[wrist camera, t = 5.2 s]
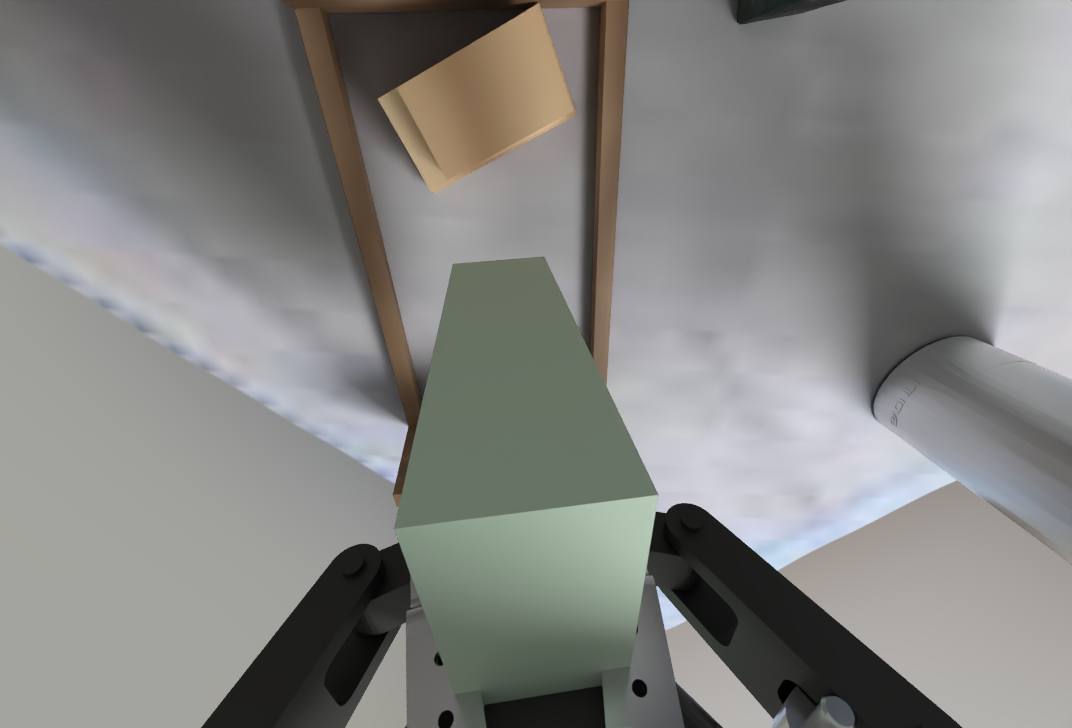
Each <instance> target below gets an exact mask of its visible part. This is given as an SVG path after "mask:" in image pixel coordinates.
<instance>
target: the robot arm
mask: <svg viewBox="0 0 1072 728" xmlns="http://www.w3.org/2000/svg"><path fill="white" fill-rule="evenodd" d="M873 409H874V415H875V417H876V419H877V420H878V422H880V423H881V424H882V425H884V426H885V427H886V428H888V429H889V430H890V431H892V432H893V433H894V434H896V435H897V436H899V437H900V438H901V439H903V440H904V441H905V442H907V443H908V444H909V445H911V446H912V447H913V448H915V449H916V450H917V451H919V452H920V453H921V454H922V455H924V456H925V457H926V458H928V459H929V460H930V461H932V462H933V463H935V464H936V465H937V466H939V467H940V468H941V469H943V470H944V471H945V472H947V473H948V474H949V475H951V476H952V477H953V478H955V479H956V480H958V481H959V482H960V483H962V484H963V485H964V486H966V487H967V488H968V489H970V490H971V491H973V492H974V493H975V494H977V495H978V496H979V497H981V498H982V499H983V500H985V501H986V502H987V503H989V504H990V505H992V506H993V507H994V508H996V509H997V510H998V511H1000V512H1001V513H1002V514H1004V515H1005V516H1006V517H1008V518H1009V519H1010V520H1012V521H1013V522H1015V523H1016V524H1017V525H1019V526H1020V527H1021V528H1023V529H1024V530H1025V531H1027V532H1028V533H1030V534H1031V535H1032V536H1034V537H1035V538H1036V539H1038V540H1039V541H1040V542H1042V543H1043V544H1045V545H1046V546H1047V547H1048V548H1050V549H1051V550H1052V551H1054V552H1055V553H1057V554H1058V555H1059V556H1061V557H1062V558H1063V559H1065V560H1066V561H1067V562H1069V563H1070V564H1072V380H1071V379H1069V378H1067V377H1064V376H1062V375H1060V374H1057V373H1055V372H1053V371H1050V370H1048V369H1045V368H1043V367H1041V366H1038V365H1036V364H1034V363H1032V362H1030V361H1027V360H1025V359H1022V358H1020V357H1018V356H1015V355H1013V354H1011V353H1008V352H1006V351H1003V350H1001V349H999V348H996V347H994V346H992V345H989V344H987V343H985V342H982V341H980V340H977V339H975V338H973V337H967V336H957V337H950V338H946V339H943V340H939V341H937V342H934V343H932V344H930V345H927V346H925V347H924V348H922V349H920V350H919V351H917V352H915V353H914V354H912V355H911V356H910V357H908V358H907V359H906V360H904V361H903V362H902V363H901V364H900V365H899V366H898V367H896V368H895V369H894V370H893V371H892V372H891V374H890V375H889V376H888V377H887V378H886V380H885V381H884V382H883V384H882V386H881V387H880V389H879V391H878V393H877V395H876V398H875V401H874V408H873ZM656 586H658V587H659V588H660V590H661V591H662V592H663V593H664V594H665V596H666V597H667V598H668V599H669V600H670V601H671V602H672V604H673V605H674V606H675V607H676V608H677V609H678V610H679V612H680V613H681V614H682V615H683V616H684V617H685V618H686V620H687V621H688V622H689V623H690V624H691V625H692V626H693V628H694V629H695V630H696V631H697V632H698V633H699V634H700V636H701V637H702V638H703V639H704V640H705V641H706V642H707V643H708V645H709V646H710V647H711V648H712V649H713V650H714V652H715V653H716V654H717V655H718V656H719V657H720V658H721V660H722V661H723V662H724V663H725V664H726V665H727V666H728V667H729V669H730V670H731V671H732V672H733V673H734V674H735V676H736V677H737V678H738V679H739V680H740V681H741V682H742V684H743V685H744V686H745V687H746V688H747V689H748V690H749V692H750V693H751V694H752V695H753V696H754V697H755V698H756V700H757V701H758V702H759V703H760V704H761V705H762V707H763V708H764V709H765V710H766V711H767V712H768V713H769V714H770V716H771V717H772V718H773V719H774V720H773V728H962V727H961V726H960V725H959V724H958V723H957V722H955V721H954V720H953V719H952V718H951V717H950V716H949V715H947V714H946V713H945V712H944V711H943V710H941V709H940V708H939V707H938V706H936V704H934V703H933V702H932V701H931V700H929V699H928V698H927V697H926V696H925V695H924V694H922V693H921V692H920V691H919V690H918V689H917V688H915V687H914V686H913V685H912V684H911V683H909V682H908V681H907V680H906V679H905V678H904V677H902V676H901V675H900V674H899V673H898V672H896V671H895V670H894V669H893V668H892V667H890V666H889V665H888V664H887V663H886V662H885V661H883V660H882V659H881V658H880V657H879V656H877V655H876V654H875V653H874V652H873V651H872V650H870V649H869V648H868V647H867V646H866V645H864V644H863V643H862V642H861V641H860V640H858V639H857V638H856V637H855V636H854V635H853V634H851V633H850V632H849V631H848V630H847V629H846V628H844V627H843V626H842V625H841V624H840V623H838V622H837V621H836V620H835V619H834V618H832V617H831V616H830V615H829V614H828V613H826V612H825V611H824V610H823V609H822V608H821V607H819V606H818V605H817V604H816V603H815V602H813V601H812V600H811V599H810V598H809V597H808V596H806V595H805V594H804V593H803V592H802V591H801V590H799V589H798V588H797V587H796V586H794V585H793V584H792V583H791V582H790V581H789V580H787V579H786V578H785V577H784V576H783V575H782V574H780V573H779V572H778V571H777V570H776V569H774V568H773V567H772V566H771V565H770V564H769V563H767V562H766V561H765V560H764V559H763V558H761V557H760V556H759V555H758V554H757V553H756V552H754V551H753V550H752V549H751V548H750V547H748V546H747V545H746V544H745V543H744V542H743V541H741V540H740V539H739V538H738V537H737V536H735V535H734V534H733V533H732V532H731V531H729V530H728V529H727V528H726V527H725V526H724V525H722V524H721V523H720V522H719V521H718V520H716V519H715V518H714V517H713V516H712V515H711V514H709V513H708V512H707V511H706V510H704V509H702V508H701V507H699V506H696V505H693V504H688V503H681V504H676V505H674V506H672V507H671V508H670V509H669V510H668V511H667V513H661V512H656V513H655V519H654V525H653V531H652V537H651V543H650V549H649V556H648V562H647V568H646V574H645V580H644V586H643V592H642V598H641V605H640V611H639V617H638V623H637V629H636V635H635V641H634V647H633V653H632V660H631V666H627V667H621V668H614V669H608V670H602V672H601V686H597V687H590V688H584V689H578V690H572V691H566V692H560V693H554V694H548V695H542V696H535V697H529V698H523V699H517V700H511V701H505V702H499V703H493V704H486V705H485V703H484V699H483V696H482V692H481V690H477V691H471V692H465V693H459V694H454V693H453V690H452V687H451V684H450V682H449V679H448V676H447V673H446V671H445V668H444V665H443V662H442V660H441V657H440V654H439V651H438V649H437V646H436V643H435V640H434V638H433V635H432V632H431V629H430V627H429V624H428V621H427V618H426V616H425V613H424V610H423V607H422V605H421V602H420V599H419V596H418V594H417V591H416V588H415V585H414V583H413V580H412V577H411V574H410V572H409V569H408V566H407V563H406V560H405V558H404V555H403V552H402V549H401V547H400V544H399V543H397V544H395V545H392V546H390V547H387V548H385V549H383V550H380V551H379V550H378V549H377V548H376V547H375V546H373V545H370V544H358V545H355V546H352V547H350V548H348V549H346V550H344V551H343V552H341V553H340V554H339V555H338V556H337V557H336V558H335V559H334V560H333V561H332V562H331V564H330V565H329V566H328V568H327V569H326V570H325V571H324V573H323V574H322V575H321V576H320V578H319V579H318V580H317V582H316V583H315V584H314V585H313V587H312V588H311V589H310V590H309V592H308V593H307V594H306V596H305V597H304V598H303V599H302V600H301V602H300V603H299V604H298V606H297V607H296V608H295V609H294V611H293V612H292V613H291V615H290V616H289V617H288V618H287V620H286V621H285V622H284V623H283V625H282V626H281V627H280V628H279V630H278V631H277V632H276V633H275V635H274V636H273V637H272V639H271V640H270V641H269V642H268V644H267V645H266V646H265V647H264V649H263V650H262V651H261V653H260V654H259V655H258V656H257V658H256V659H255V660H254V661H253V663H252V664H251V665H250V666H249V668H248V669H247V670H246V672H245V673H244V674H243V675H242V677H241V678H240V679H239V681H238V682H237V683H236V684H235V686H234V687H233V688H232V689H231V691H230V692H229V693H228V694H227V696H226V697H225V698H224V699H223V701H222V702H221V703H220V705H219V706H218V707H217V708H216V710H215V711H214V712H213V713H212V715H211V716H210V717H209V718H208V720H207V721H206V722H205V724H204V725H203V726H202V727H201V728H345V726H346V725H347V723H348V721H349V719H350V717H351V716H352V714H353V712H354V710H355V709H356V707H357V705H358V703H359V701H360V699H361V698H362V696H363V694H364V692H365V690H366V689H367V687H368V685H369V683H370V681H371V680H372V678H373V676H374V674H375V672H376V670H377V669H378V667H379V665H380V663H381V661H382V660H383V658H384V656H385V654H386V652H387V651H388V649H389V647H390V645H391V643H392V641H393V640H394V638H395V636H396V634H397V633H398V631H399V629H400V627H401V625H402V624H403V623H405V622H406V675H407V676H406V679H407V681H406V683H407V684H406V686H407V725H406V727H405V728H722V726H720V725H719V724H718V723H717V722H716V721H715V720H714V719H713V718H712V717H711V716H710V715H709V714H708V713H707V712H706V711H705V710H704V709H703V708H702V707H701V706H700V705H699V704H698V703H697V702H696V701H695V700H694V699H693V698H692V697H690V696H689V695H688V694H687V693H686V692H685V691H684V690H683V689H682V688H681V687H680V686H679V685H678V684H677V683H676V682H675V678H674V673H673V668H672V663H671V658H670V654H669V649H668V644H667V639H666V634H665V629H664V624H663V619H662V614H661V609H660V604H659V599H658V595H657V590H656Z"/></svg>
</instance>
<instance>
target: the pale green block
mask: <svg viewBox="0 0 1072 728" xmlns="http://www.w3.org/2000/svg"><path fill="white" fill-rule="evenodd" d="M657 500H658V493H657V491H656V489H655V487H654V485H653V483H652V481H651V478H650V476H649V474H648V472H647V470H646V468H645V466H644V464H643V462H642V460H641V458H640V456H639V453H638V451H637V449H636V447H635V445H634V443H633V441H632V439H631V437H630V435H629V433H628V431H627V428H626V426H625V424H624V422H623V420H622V418H621V416H620V414H619V412H618V410H617V408H616V406H615V403H614V401H613V399H612V397H611V395H610V393H609V391H608V389H607V387H606V385H605V383H604V381H603V378H602V376H601V374H600V372H599V370H598V368H597V366H596V364H595V362H594V360H593V358H592V356H591V353H590V351H589V349H588V347H587V345H586V343H585V341H584V339H583V337H582V335H581V333H580V331H579V328H578V326H577V324H576V322H575V320H574V318H573V316H572V314H571V312H570V310H569V308H568V306H567V303H566V301H565V299H564V297H563V295H562V293H561V291H560V289H559V287H558V285H557V283H556V281H555V278H554V276H553V274H552V272H551V270H550V268H549V266H548V264H547V262H546V260H545V258H544V257H534V258H521V259H509V260H496V261H484V262H472V263H459V264H453V266H452V270H451V275H450V279H449V284H448V288H447V293H446V297H445V302H444V306H443V311H442V315H441V320H440V324H439V329H438V333H437V338H436V342H435V347H434V351H433V356H432V360H431V365H430V369H429V374H428V378H427V383H426V387H425V392H424V396H423V401H422V405H421V410H420V414H419V419H418V423H417V428H416V432H415V437H414V441H413V446H412V450H411V455H410V459H409V464H408V468H407V473H406V477H405V482H404V486H403V491H402V495H401V500H400V504H399V509H398V513H397V518H396V522H395V527H394V530H395V533H396V536H397V538H398V541H399V544H400V547H401V549H402V552H403V555H404V558H405V560H406V563H407V566H408V569H409V572H410V574H411V577H412V580H413V583H414V585H415V588H416V591H417V594H418V596H419V599H420V602H421V605H422V607H423V610H424V613H425V616H426V618H427V621H428V624H429V627H430V629H431V632H432V635H433V638H434V640H435V643H436V646H437V649H438V651H439V654H440V657H441V660H442V662H443V665H444V668H445V671H446V673H447V676H448V679H449V682H450V684H451V687H452V690H453V693H454V694H459V693H465V692H471V691H477V690H481V692H482V696H483V699H484V703H485V705H486V704H493V703H499V702H505V701H511V700H517V699H523V698H529V697H535V696H542V695H548V694H554V693H560V692H566V691H572V690H578V689H584V688H590V687H597V686H601V672H602V670H608V669H614V668H621V667H627V666H631V660H632V653H633V647H634V641H635V635H636V629H637V623H638V617H639V611H640V605H641V598H642V592H643V586H644V580H645V574H646V568H647V562H648V556H649V549H650V543H651V537H652V531H653V525H654V519H655V513H656V507H657Z"/></svg>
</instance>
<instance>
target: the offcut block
mask: <svg viewBox="0 0 1072 728" xmlns="http://www.w3.org/2000/svg"><path fill="white" fill-rule="evenodd" d="M378 100H379V102H380V104H381V106H382V107H383V109H384V111H385V113H386V114H387V116H388V118H389V120H390V121H391V123H392V125H393V127H394V128H395V130H396V132H397V134H398V135H399V137H400V139H401V141H402V142H403V144H404V146H405V147H406V149H407V151H408V153H409V154H410V156H411V158H412V160H413V161H414V163H415V165H416V167H417V168H418V170H419V172H420V174H421V175H422V177H423V179H424V181H425V182H426V184H427V186H428V188H429V189H430V191H431V192H432V193H435V192H436V191H438V190H440V189H442V188H444V187H446V186H447V185H449V184H451V183H453V182H455V181H456V180H458V179H460V178H462V177H464V176H466V175H467V174H469V173H471V172H473V171H475V170H477V169H478V168H480V167H482V166H484V165H486V164H488V163H489V162H491V161H493V160H495V159H497V158H499V157H500V156H502V155H504V154H506V153H508V152H509V151H511V150H513V149H515V148H517V147H519V146H520V145H522V144H524V143H526V142H528V141H530V140H531V139H533V138H535V137H537V136H539V135H541V134H542V133H544V132H546V131H548V130H550V129H552V128H553V127H555V126H557V125H559V124H561V123H562V122H564V121H566V120H568V119H570V118H572V117H573V116H575V115H577V112H576V109H575V106H574V104H573V101H572V98H571V95H570V92H569V89H568V86H567V83H566V80H565V77H564V74H563V71H562V68H561V66H560V63H559V60H558V57H557V54H556V51H555V48H554V45H553V42H552V39H551V36H550V33H549V31H548V28H547V25H546V22H545V19H544V16H543V13H542V10H541V7H540V4H539V3H538V4H536V5H535V6H533V7H531V8H529V9H528V10H526V11H524V12H523V13H521V14H519V15H518V16H516V17H514V18H513V19H511V20H509V21H508V22H506V23H504V24H502V25H501V26H499V27H497V28H496V29H494V30H492V31H491V32H489V33H487V34H486V35H484V36H482V37H481V38H479V39H477V40H476V41H474V42H472V43H470V44H469V45H467V46H465V47H464V48H462V49H460V50H459V51H457V52H455V53H454V54H452V55H450V56H449V57H447V58H445V59H443V60H442V61H440V62H438V63H437V64H435V65H433V66H432V67H430V68H428V69H427V70H425V71H423V72H422V73H420V74H418V75H416V76H415V77H413V78H411V79H410V80H408V81H406V82H405V83H403V84H401V85H400V86H398V87H396V88H395V89H393V90H391V91H390V92H388V93H386V94H384V95H383V96H381V97H379V98H378Z"/></svg>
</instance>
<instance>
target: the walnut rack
mask: <svg viewBox="0 0 1072 728" xmlns="http://www.w3.org/2000/svg"><path fill="white" fill-rule="evenodd" d="M282 1H283V2H285V3H286V4H288V5H289V6H291V7H293V8H294V9H295V13H296V17H297V20H298V24H299V28H300V31H301V35H302V39H303V42H304V46H305V50H306V53H307V57H308V61H309V64H310V68H311V72H312V75H313V79H314V82H315V86H316V90H317V93H318V97H319V101H320V104H321V108H322V112H323V115H324V119H325V123H326V126H327V130H328V134H329V137H330V141H331V145H332V148H333V152H334V156H335V159H336V163H337V167H338V170H339V174H340V177H341V181H342V185H343V188H344V192H345V196H346V199H347V203H348V207H349V210H350V214H351V218H352V221H353V225H354V229H355V232H356V236H357V240H358V243H359V247H360V251H361V254H362V258H363V261H364V265H365V269H366V272H367V276H368V280H369V283H370V287H371V291H372V294H373V298H374V302H375V305H376V309H377V313H378V316H379V320H380V324H381V327H382V331H383V335H384V338H385V342H386V346H387V349H388V353H389V356H390V360H391V364H392V367H393V371H394V375H395V378H396V382H397V386H398V389H399V393H400V397H401V400H402V404H403V408H404V411H405V415H406V419H407V422H408V426H409V427H408V432H407V436H406V440H405V445H404V449H403V453H402V458H401V462H400V466H399V471H398V475H397V479H396V483H395V488H394V492H393V497H394V500H395V503H396V505H397V507H398V506H399V504H400V500H401V495H402V491H403V486H404V482H405V477H406V473H407V468H408V464H409V459H410V455H411V450H412V446H413V441H414V437H415V432H416V428H417V423H418V419H419V414H420V410H421V405H422V402H421V398H420V394H419V389H418V385H417V381H416V377H415V373H414V369H413V365H412V360H411V356H410V352H409V348H408V344H407V340H406V336H405V331H404V327H403V323H402V319H401V315H400V311H399V307H398V303H397V298H396V294H395V290H394V286H393V282H392V278H391V274H390V269H389V265H388V261H387V257H386V253H385V249H384V245H383V240H382V236H381V232H380V228H379V224H378V220H377V216H376V212H375V207H374V203H373V199H372V195H371V191H370V187H369V183H368V178H367V174H366V170H365V166H364V162H363V158H362V154H361V149H360V145H359V141H358V137H357V133H356V129H355V125H354V120H353V116H352V112H351V108H350V104H349V100H348V96H347V92H346V87H345V83H344V79H343V75H342V71H341V67H340V63H339V58H338V54H337V50H336V46H335V42H334V38H333V34H332V29H331V25H330V21H329V17H328V14H344V13H382V12H419V11H457V10H495V9H529V8H531V7H533V6H535V5H536V4H538V3H539V4H540V7H541V8H570V7H601V10H600V43H599V75H598V107H597V139H596V171H595V204H594V236H593V268H592V300H591V333H590V353H591V356H592V358H593V360H594V362H595V364H596V366H597V368H598V370H599V372H600V374H601V376H602V378H603V381H604V383H605V385H606V384H607V367H608V350H609V333H610V316H611V299H612V282H613V265H614V248H615V231H616V214H617V197H618V180H619V163H620V146H621V129H622V112H623V95H624V78H625V61H626V44H627V27H628V10H629V0H282Z"/></svg>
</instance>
